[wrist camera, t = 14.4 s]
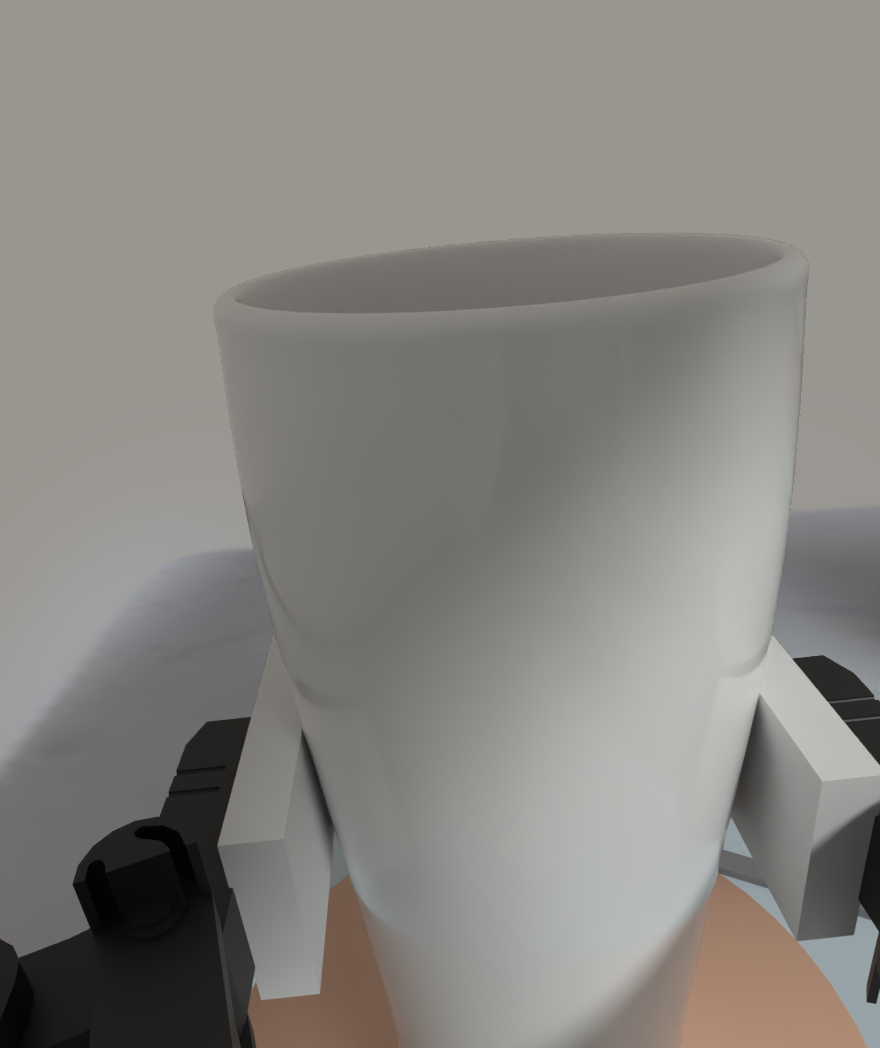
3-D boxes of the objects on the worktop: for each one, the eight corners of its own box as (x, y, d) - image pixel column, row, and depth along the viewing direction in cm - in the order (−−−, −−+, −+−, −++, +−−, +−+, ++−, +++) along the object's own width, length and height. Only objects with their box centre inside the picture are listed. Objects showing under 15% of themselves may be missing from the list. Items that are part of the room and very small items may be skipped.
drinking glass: (303, 1045, 16) (110, 294, 9) (531, 856, 19) (501, 231, 13) (549, 1408, 11) (491, 353, 5) (788, 1061, 15) (934, 228, 8)
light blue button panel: (926, 717, 24) (930, 697, 24) (1069, 2247, 7) (1095, 2253, 6) (426, 618, 32) (424, 602, 32) (-104, 1199, 15) (-121, 1176, 14)
